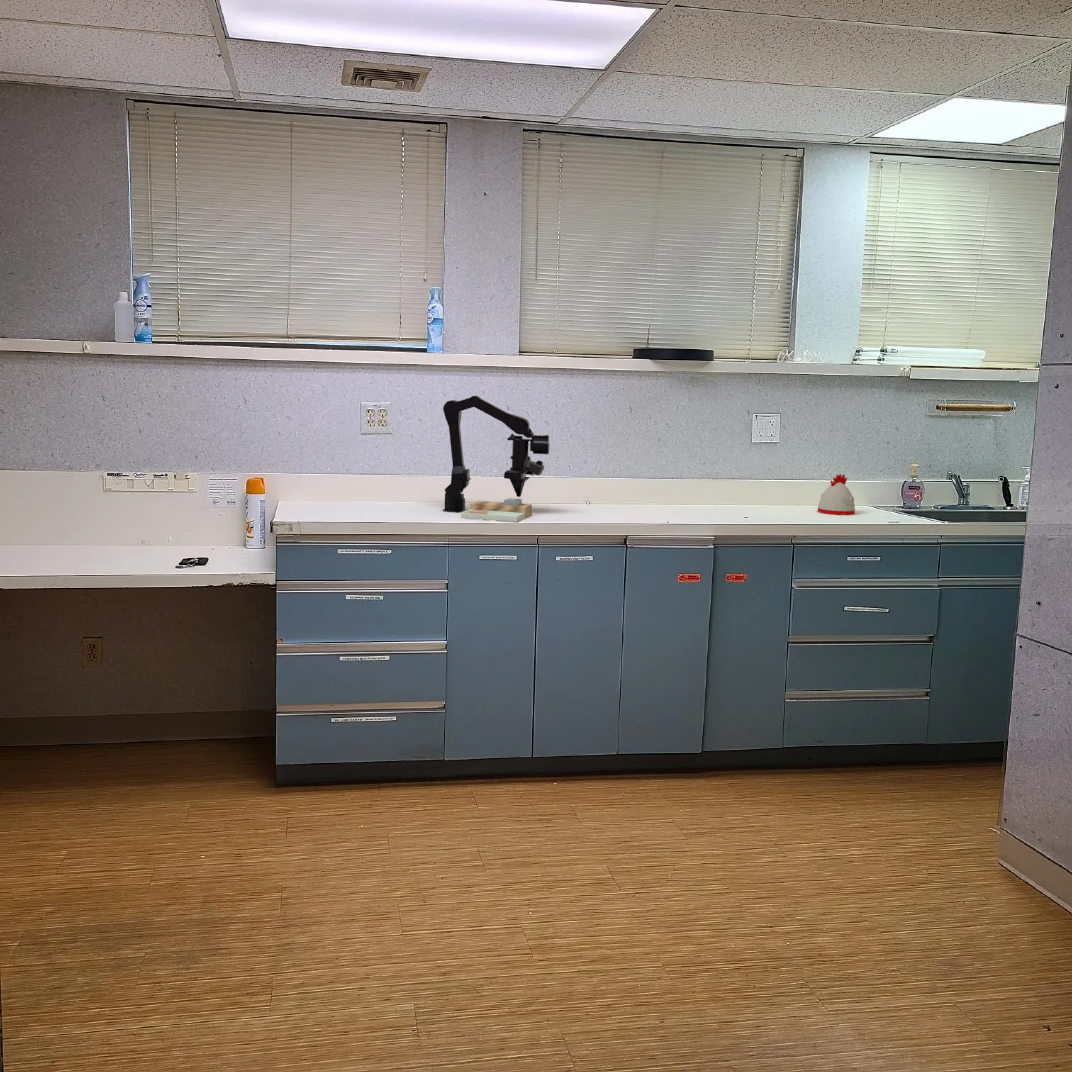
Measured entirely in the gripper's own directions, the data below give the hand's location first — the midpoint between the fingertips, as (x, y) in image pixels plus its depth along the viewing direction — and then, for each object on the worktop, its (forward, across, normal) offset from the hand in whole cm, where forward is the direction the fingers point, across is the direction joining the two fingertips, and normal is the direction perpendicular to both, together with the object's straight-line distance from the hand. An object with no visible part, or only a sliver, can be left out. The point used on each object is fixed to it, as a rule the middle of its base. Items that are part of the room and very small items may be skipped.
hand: (518, 496), depth 385 cm
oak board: (+6, -7, +4) cm, 10 cm away
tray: (+6, -16, +4) cm, 18 cm away
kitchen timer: (+6, +62, -110) cm, 127 cm away
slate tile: (+2, -8, 0) cm, 8 cm away
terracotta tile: (+4, -17, +10) cm, 20 cm away
